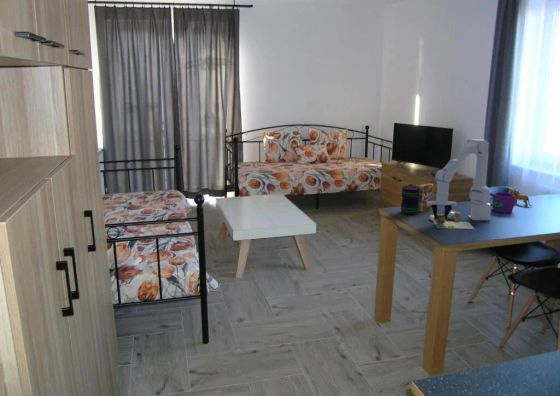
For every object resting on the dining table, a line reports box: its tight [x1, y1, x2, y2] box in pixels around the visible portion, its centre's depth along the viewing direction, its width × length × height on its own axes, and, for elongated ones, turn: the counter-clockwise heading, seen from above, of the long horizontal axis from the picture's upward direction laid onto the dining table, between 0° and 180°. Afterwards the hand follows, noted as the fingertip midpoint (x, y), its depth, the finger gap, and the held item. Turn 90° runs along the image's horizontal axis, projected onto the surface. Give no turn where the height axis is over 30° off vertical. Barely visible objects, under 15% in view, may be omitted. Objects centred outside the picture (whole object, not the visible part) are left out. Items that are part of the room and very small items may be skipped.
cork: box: [453, 211, 462, 222], centre depth 250 cm, size 3×3×4 cm
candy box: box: [417, 182, 434, 213], centre depth 270 cm, size 9×4×15 cm, turn 123°
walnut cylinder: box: [436, 213, 445, 224], centre depth 243 cm, size 4×4×4 cm
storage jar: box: [400, 185, 420, 217], centre depth 264 cm, size 10×10×15 cm
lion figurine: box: [507, 188, 533, 208], centre depth 281 cm, size 15×5×9 cm, turn 38°
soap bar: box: [429, 214, 447, 222], centre depth 253 cm, size 7×4×2 cm, turn 95°
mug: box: [490, 191, 515, 214], centre depth 269 cm, size 17×11×10 cm, turn 35°
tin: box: [447, 210, 457, 221], centre depth 256 cm, size 6×6×4 cm
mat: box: [432, 220, 475, 230], centre depth 243 cm, size 18×11×1 cm, turn 83°
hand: (440, 219), depth 243 cm, fingers closed on walnut cylinder, 4 cm apart
